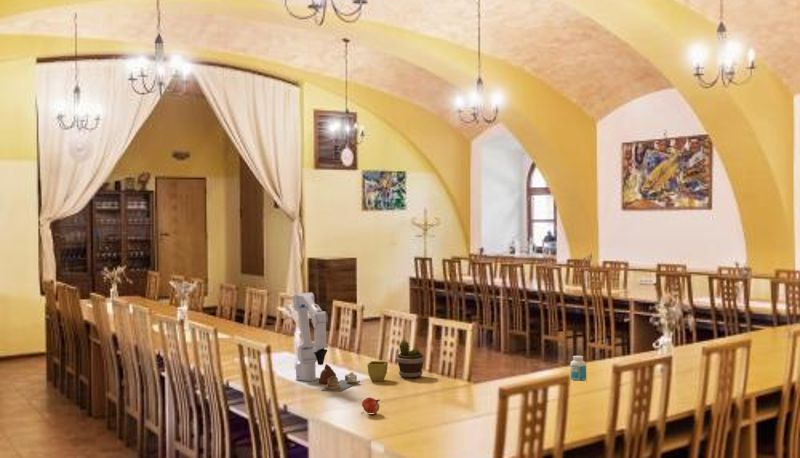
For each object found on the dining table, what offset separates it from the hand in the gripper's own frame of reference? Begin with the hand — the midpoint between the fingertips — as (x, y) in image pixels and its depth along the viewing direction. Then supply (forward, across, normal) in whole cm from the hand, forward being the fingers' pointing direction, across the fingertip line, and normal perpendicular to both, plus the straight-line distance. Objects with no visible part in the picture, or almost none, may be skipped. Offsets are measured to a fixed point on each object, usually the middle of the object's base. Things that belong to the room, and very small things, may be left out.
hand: (320, 364), depth 388 cm
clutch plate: (+8, +10, -12) cm, 17 cm away
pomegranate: (+11, -46, -44) cm, 65 cm away
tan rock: (+10, -4, -8) cm, 13 cm away
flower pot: (+11, +20, -22) cm, 32 cm away
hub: (+10, +10, -12) cm, 19 cm away
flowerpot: (+11, +33, -35) cm, 49 cm away
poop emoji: (+11, +8, 0) cm, 14 cm away
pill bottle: (+11, +39, -118) cm, 125 cm away
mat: (+10, +3, -10) cm, 14 cm away
